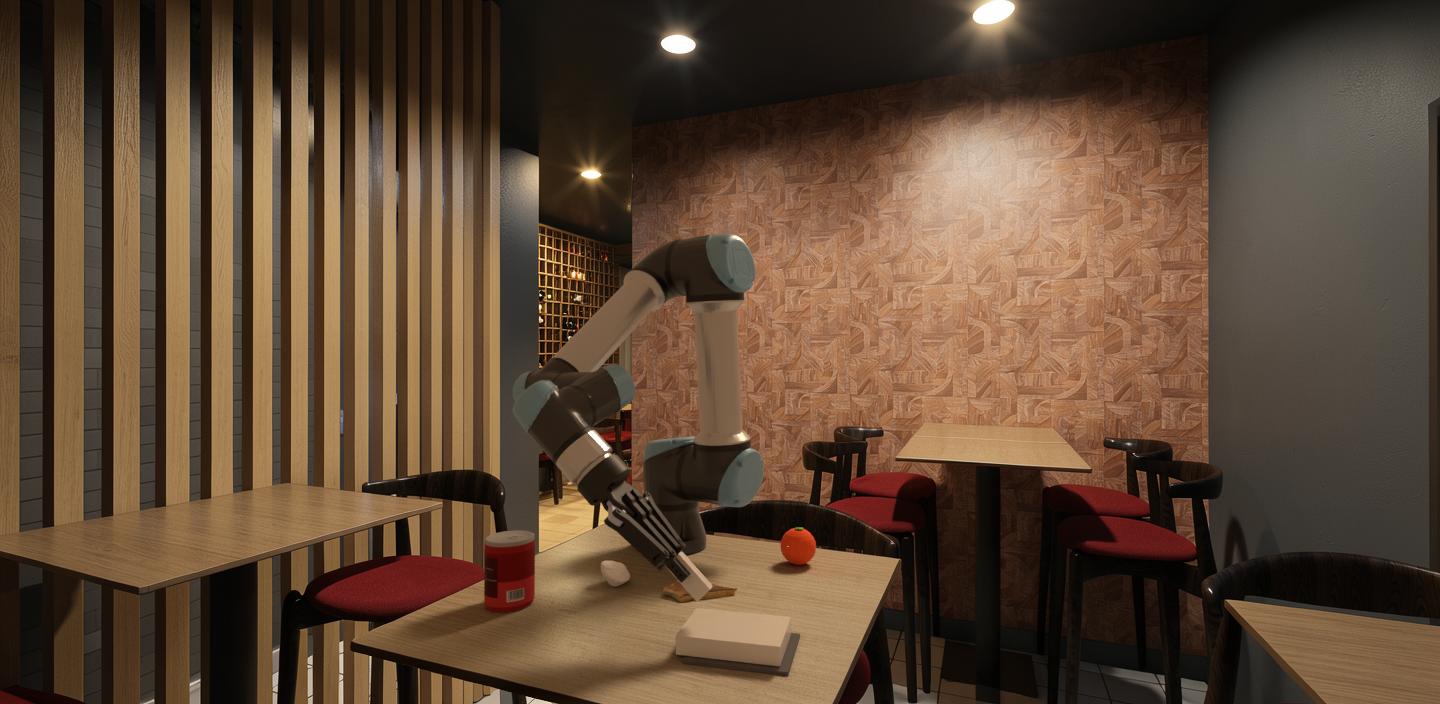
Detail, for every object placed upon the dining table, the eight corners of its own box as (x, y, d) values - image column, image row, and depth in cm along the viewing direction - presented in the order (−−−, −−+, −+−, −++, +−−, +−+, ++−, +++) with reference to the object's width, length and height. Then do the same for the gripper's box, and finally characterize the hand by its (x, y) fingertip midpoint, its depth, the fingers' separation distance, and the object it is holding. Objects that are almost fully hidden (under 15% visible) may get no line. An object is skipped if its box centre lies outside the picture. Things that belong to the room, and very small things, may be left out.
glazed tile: (696, 607, 96) (791, 616, 93) (696, 625, 96) (791, 635, 93) (675, 635, 86) (780, 646, 83) (675, 655, 86) (780, 667, 83)
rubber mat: (706, 626, 97) (706, 624, 97) (800, 636, 93) (800, 633, 93) (682, 663, 85) (682, 659, 85) (788, 675, 82) (788, 672, 82)
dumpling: (598, 580, 118) (598, 558, 118) (627, 577, 119) (627, 555, 119) (603, 593, 111) (603, 569, 111) (633, 589, 113) (633, 566, 113)
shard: (737, 597, 110) (737, 586, 110) (716, 612, 104) (716, 601, 104) (682, 586, 115) (682, 576, 115) (659, 600, 109) (659, 590, 109)
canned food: (543, 597, 109) (543, 531, 109) (516, 615, 101) (516, 544, 101) (503, 593, 111) (503, 528, 111) (473, 610, 103) (474, 541, 103)
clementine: (785, 555, 132) (785, 520, 132) (819, 559, 130) (819, 523, 130) (776, 567, 125) (776, 530, 125) (812, 571, 123) (812, 533, 123)
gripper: (597, 479, 102) (699, 595, 98) (556, 495, 89) (672, 630, 85) (628, 446, 101) (733, 562, 96) (592, 458, 88) (711, 592, 84)
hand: (704, 594), depth 91 cm, fingers closed
